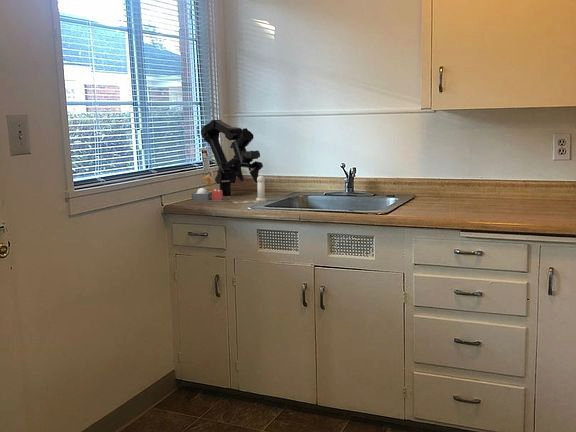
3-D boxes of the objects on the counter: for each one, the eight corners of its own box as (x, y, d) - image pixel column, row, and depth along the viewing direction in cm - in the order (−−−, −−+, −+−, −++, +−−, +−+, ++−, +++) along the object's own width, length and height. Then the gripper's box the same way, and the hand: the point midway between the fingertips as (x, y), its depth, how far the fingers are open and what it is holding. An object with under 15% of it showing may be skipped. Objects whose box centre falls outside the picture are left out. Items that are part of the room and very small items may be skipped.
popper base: (195, 200, 294) (195, 188, 293) (227, 201, 293) (227, 188, 292) (191, 203, 286) (190, 190, 285) (224, 204, 284) (224, 191, 284)
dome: (197, 197, 293) (196, 187, 292) (209, 197, 292) (209, 187, 291) (194, 199, 287) (193, 188, 286) (207, 199, 286) (207, 188, 285)
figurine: (221, 199, 301) (220, 173, 299) (214, 200, 296) (213, 174, 294) (206, 197, 305) (206, 172, 303) (199, 199, 300) (198, 173, 298)
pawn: (255, 200, 288) (254, 175, 286) (265, 199, 289) (264, 174, 287) (257, 201, 283) (257, 176, 282) (267, 201, 285) (267, 175, 283)
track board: (235, 206, 278) (235, 203, 278) (230, 204, 284) (230, 201, 283) (270, 204, 285) (270, 201, 285) (264, 202, 291) (264, 199, 290)
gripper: (236, 140, 285) (246, 171, 280) (265, 145, 299) (275, 175, 294) (221, 153, 292) (230, 183, 287) (250, 157, 306) (259, 186, 301)
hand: (249, 181), depth 292 cm, fingers open, 9 cm apart
